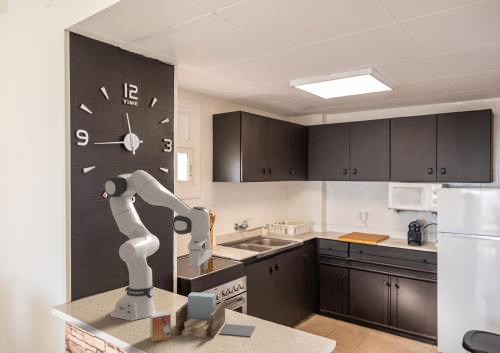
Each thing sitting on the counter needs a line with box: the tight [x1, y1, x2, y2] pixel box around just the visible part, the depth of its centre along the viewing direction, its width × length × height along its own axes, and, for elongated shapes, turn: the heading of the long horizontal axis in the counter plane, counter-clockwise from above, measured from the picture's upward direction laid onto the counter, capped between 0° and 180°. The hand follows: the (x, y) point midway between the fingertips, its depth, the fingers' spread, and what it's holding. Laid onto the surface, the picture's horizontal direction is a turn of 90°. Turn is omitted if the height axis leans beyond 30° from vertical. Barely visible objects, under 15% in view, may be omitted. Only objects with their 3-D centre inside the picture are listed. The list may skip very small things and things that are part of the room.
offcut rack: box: [175, 299, 226, 339], centre depth 167 cm, size 17×18×10 cm
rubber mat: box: [218, 323, 256, 338], centre depth 164 cm, size 14×10×1 cm
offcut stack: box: [182, 318, 211, 338], centre depth 162 cm, size 11×6×5 cm, turn 75°
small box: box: [149, 310, 172, 343], centre depth 158 cm, size 8×6×10 cm
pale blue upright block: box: [187, 292, 217, 323], centre depth 168 cm, size 12×4×15 cm, turn 77°
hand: (201, 272), depth 168 cm, fingers open, 8 cm apart
